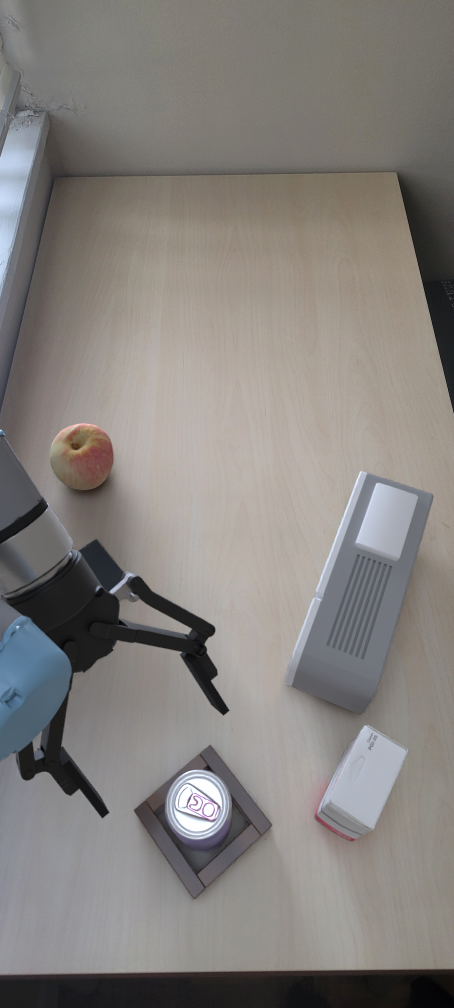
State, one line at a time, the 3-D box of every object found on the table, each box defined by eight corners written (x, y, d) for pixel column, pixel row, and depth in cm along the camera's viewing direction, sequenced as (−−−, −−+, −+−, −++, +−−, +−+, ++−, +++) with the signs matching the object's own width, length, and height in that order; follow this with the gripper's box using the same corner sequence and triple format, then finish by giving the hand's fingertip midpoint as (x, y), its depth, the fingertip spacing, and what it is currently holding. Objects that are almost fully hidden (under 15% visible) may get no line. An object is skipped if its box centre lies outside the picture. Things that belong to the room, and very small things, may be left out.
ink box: (352, 844, 67) (373, 835, 57) (310, 817, 69) (324, 804, 59) (386, 769, 71) (411, 749, 61) (346, 745, 73) (365, 721, 62)
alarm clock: (348, 508, 89) (364, 459, 79) (414, 531, 87) (438, 483, 77) (282, 691, 76) (289, 659, 66) (357, 722, 74) (377, 694, 64)
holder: (195, 899, 65) (193, 899, 62) (137, 813, 69) (133, 810, 66) (270, 828, 68) (272, 825, 65) (211, 750, 72) (210, 744, 69)
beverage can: (216, 863, 67) (213, 855, 54) (166, 836, 68) (151, 822, 55) (240, 806, 69) (242, 785, 57) (191, 781, 71) (182, 755, 58)
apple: (114, 444, 95) (105, 409, 88) (121, 493, 90) (112, 461, 84) (55, 454, 94) (41, 420, 87) (59, 505, 89) (45, 472, 83)
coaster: (78, 619, 81) (77, 617, 80) (45, 574, 84) (44, 572, 83) (130, 582, 83) (130, 580, 83) (97, 540, 87) (96, 538, 86)
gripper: (145, 486, 60) (246, 658, 66) (-107, 653, 51) (38, 830, 58) (175, 493, 53) (284, 683, 60) (-109, 686, 45) (55, 881, 51)
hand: (163, 756), depth 59 cm, fingers open, 13 cm apart
